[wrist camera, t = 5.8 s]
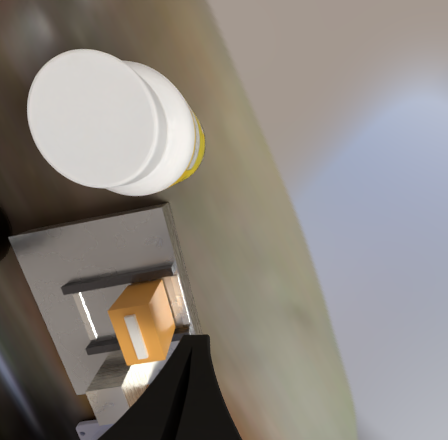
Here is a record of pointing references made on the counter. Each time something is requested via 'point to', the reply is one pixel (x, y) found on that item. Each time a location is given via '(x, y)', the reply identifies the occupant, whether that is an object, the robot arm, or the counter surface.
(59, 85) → the supplement bottle
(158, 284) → the orange cuboid
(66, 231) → the strip
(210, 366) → the robot arm
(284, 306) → the counter surface
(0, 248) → the supplement bottle
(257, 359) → the counter surface
